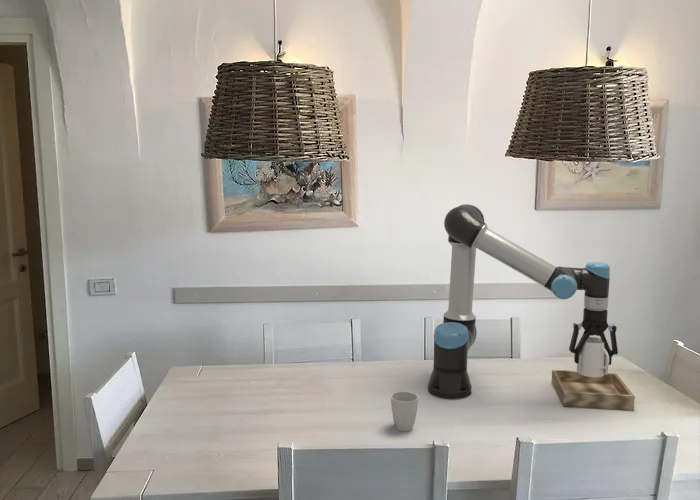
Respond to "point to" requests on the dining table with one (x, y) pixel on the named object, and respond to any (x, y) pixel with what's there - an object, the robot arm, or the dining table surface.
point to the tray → (592, 391)
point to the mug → (593, 358)
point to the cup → (404, 410)
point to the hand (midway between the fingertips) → (591, 372)
